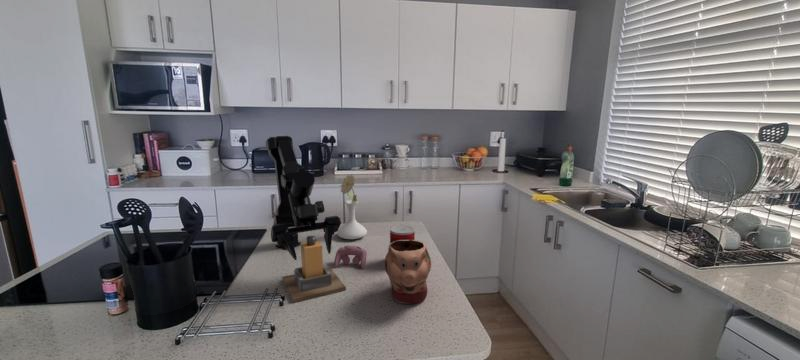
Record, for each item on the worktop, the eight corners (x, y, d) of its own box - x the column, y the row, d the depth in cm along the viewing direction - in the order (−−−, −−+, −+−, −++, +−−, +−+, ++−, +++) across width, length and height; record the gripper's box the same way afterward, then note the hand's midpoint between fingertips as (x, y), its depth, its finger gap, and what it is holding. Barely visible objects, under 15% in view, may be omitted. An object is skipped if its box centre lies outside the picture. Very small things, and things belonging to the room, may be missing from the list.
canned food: (417, 258, 118) (417, 226, 116) (409, 268, 111) (410, 234, 109) (395, 255, 121) (395, 223, 119) (386, 264, 114) (386, 231, 111)
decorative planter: (381, 277, 105) (380, 231, 103) (422, 274, 107) (422, 229, 104) (389, 315, 86) (389, 260, 83) (439, 311, 88) (440, 257, 85)
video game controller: (366, 268, 114) (368, 246, 116) (364, 268, 110) (365, 245, 112) (336, 267, 115) (338, 245, 117) (332, 267, 111) (334, 244, 112)
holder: (282, 280, 103) (281, 267, 102) (329, 270, 110) (329, 257, 109) (293, 303, 91) (292, 288, 90) (345, 290, 98) (345, 276, 97)
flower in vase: (336, 232, 142) (334, 170, 137) (364, 230, 145) (363, 169, 140) (338, 244, 130) (336, 176, 125) (370, 242, 132) (369, 175, 128)
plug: (302, 280, 101) (300, 236, 98) (318, 276, 103) (316, 233, 101) (306, 287, 97) (304, 241, 94) (323, 283, 99) (321, 238, 97)
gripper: (269, 195, 94) (279, 249, 87) (338, 188, 103) (352, 237, 96) (266, 216, 103) (276, 267, 95) (330, 208, 111) (343, 254, 104)
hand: (313, 256), depth 97 cm, fingers open, 9 cm apart
